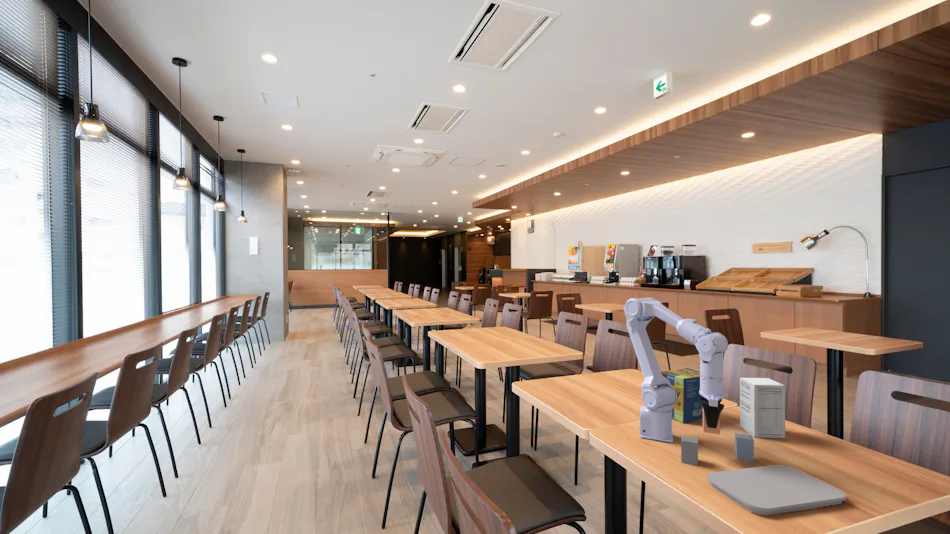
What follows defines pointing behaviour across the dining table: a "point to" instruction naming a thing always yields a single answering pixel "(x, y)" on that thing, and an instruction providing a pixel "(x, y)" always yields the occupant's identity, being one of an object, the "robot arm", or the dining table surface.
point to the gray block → (689, 450)
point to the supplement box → (762, 407)
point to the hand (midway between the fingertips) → (711, 424)
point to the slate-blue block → (744, 447)
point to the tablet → (775, 489)
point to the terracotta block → (710, 430)
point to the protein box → (685, 394)
